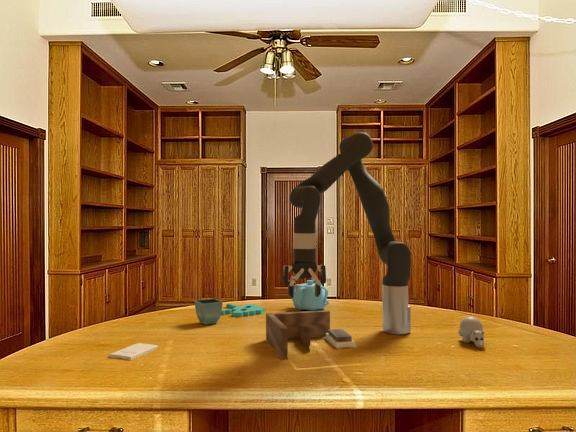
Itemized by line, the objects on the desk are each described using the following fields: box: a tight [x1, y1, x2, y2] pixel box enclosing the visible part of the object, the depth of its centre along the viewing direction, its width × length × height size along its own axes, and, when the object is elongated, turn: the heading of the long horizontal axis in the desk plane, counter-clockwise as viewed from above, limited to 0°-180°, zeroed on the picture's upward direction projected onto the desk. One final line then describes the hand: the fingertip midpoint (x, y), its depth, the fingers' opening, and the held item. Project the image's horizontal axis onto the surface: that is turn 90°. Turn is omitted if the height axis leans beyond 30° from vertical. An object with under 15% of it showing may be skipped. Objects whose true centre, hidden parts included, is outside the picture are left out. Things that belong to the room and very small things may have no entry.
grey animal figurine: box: [457, 315, 485, 349], centre depth 140 cm, size 7×12×8 cm, turn 178°
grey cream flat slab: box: [322, 336, 359, 350], centre depth 140 cm, size 7×14×2 cm, turn 14°
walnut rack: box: [265, 309, 331, 360], centre depth 138 cm, size 22×22×9 cm
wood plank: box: [298, 326, 312, 352], centre depth 138 cm, size 15×2×5 cm, turn 11°
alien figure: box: [221, 303, 266, 318], centre depth 193 cm, size 20×2×20 cm
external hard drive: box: [108, 342, 159, 361], centre depth 131 cm, size 2×8×12 cm
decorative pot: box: [291, 279, 330, 311], centre depth 199 cm, size 16×16×14 cm
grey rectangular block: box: [328, 328, 353, 342], centre depth 140 cm, size 5×10×2 cm, turn 10°
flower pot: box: [194, 298, 224, 326], centre depth 170 cm, size 9×9×9 cm
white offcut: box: [325, 333, 356, 348], centre depth 141 cm, size 6×12×2 cm, turn 12°
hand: (304, 297), depth 138 cm, fingers open, 8 cm apart
